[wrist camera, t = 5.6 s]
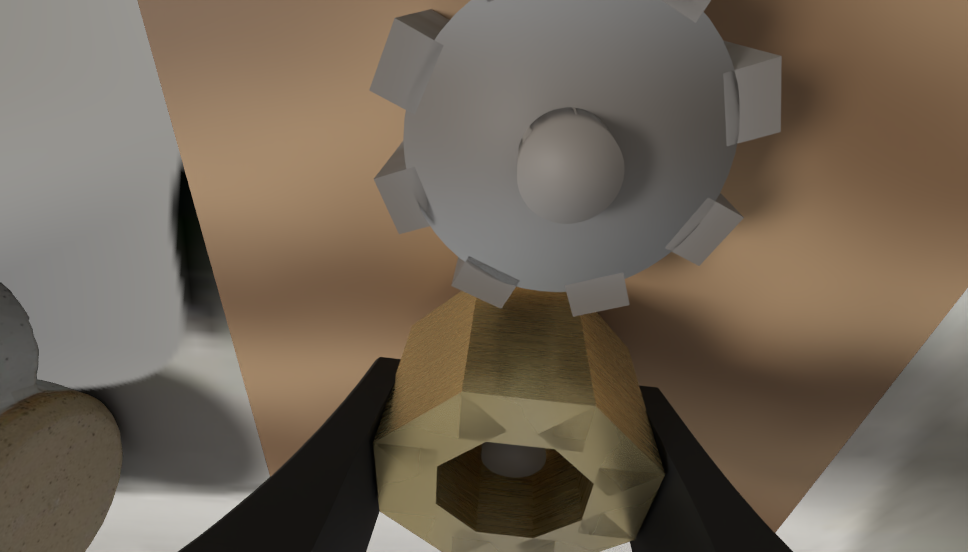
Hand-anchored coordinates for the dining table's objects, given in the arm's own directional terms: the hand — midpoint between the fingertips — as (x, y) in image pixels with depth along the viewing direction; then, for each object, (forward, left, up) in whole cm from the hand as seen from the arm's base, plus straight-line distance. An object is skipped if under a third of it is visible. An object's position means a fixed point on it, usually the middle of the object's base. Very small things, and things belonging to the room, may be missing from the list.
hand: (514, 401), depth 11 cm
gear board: (+1, -1, -3) cm, 3 cm away
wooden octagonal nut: (0, 0, -1) cm, 1 cm away
